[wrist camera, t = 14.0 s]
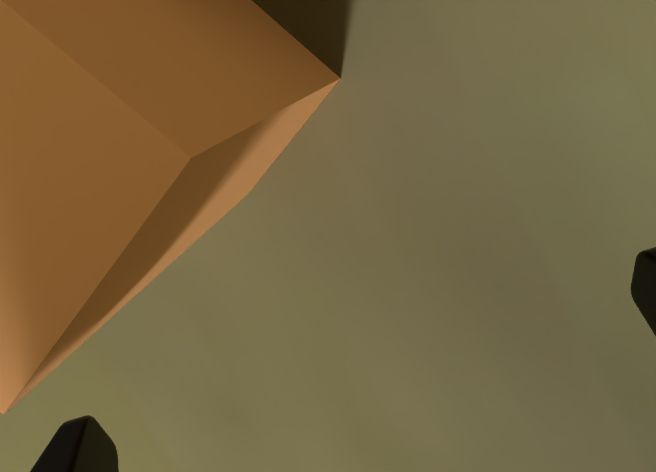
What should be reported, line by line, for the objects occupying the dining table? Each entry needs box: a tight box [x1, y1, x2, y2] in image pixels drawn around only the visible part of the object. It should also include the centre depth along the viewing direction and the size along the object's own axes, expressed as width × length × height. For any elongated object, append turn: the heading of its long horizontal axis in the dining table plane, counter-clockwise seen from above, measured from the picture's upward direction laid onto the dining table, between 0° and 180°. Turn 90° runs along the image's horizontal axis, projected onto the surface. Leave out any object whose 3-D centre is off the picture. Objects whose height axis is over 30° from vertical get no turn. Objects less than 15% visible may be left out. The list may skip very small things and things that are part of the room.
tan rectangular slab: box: [0, 0, 341, 415], centre depth 11 cm, size 6×4×11 cm
